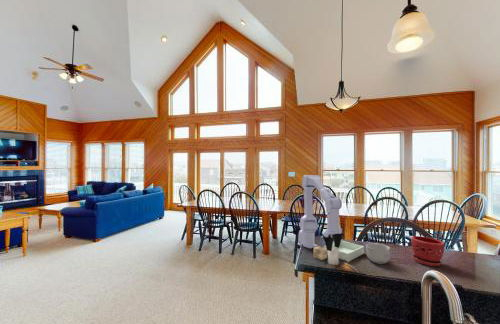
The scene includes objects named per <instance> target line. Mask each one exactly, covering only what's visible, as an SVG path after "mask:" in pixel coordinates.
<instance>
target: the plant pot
mask: <svg viewBox="0 0 500 324" xmlns="http://www.w3.org/2000/svg"><path fill="white" fill-rule="evenodd" d="M410 241H411V249H412V252H413V255H412V259H413V260H414V261H416V262H417V263H419V264H422V265H425V266H430V267H437V266H438V267H439V266H440V265H442V261H441V259H442V258H443V256H444V252H445V243H444V242H443V241H441V240H439V239H436V238H431V237H426V236H422V235H421V236H420V235H413V236H411V240H410Z"/></svg>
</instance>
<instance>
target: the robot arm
mask: <svg viewBox="0 0 500 324" xmlns="http://www.w3.org/2000/svg"><path fill="white" fill-rule="evenodd" d="M301 187H302V188H303V201H304V202H303V204H304V215H303V216H301V217H300V219H299V220H300V221H299V228H300V230H299V231H298V242H297V245H299V246H302V244H303V246H302V247H305V248H307V249H312V248H315V247H317V246H318V244H315V240H316V239H315V234H316V231H318V227H319V226H318V225H319V223H318V221H317V220H318V219H317V218H316V216H314V205H313V204H314V203H313V191H314V189H317V190H318V192H319V196H320V197H321V199H322V200H323V202H324V207H325V211H326V214H327V215H326V216H327V217H326V219H327V221H326V222H327V223H326V225H327V228H326V230H325V231H323V234H322V236H321V237H322V239H323V240H324V244H325V246H326V248H327V250H329V251H332V244H333V243H334V245H335V247H337V248H339V247H340V243H341V240H342V239H343V237H344V234H345V233H343V228H340V210H341V208H342V207H343V203H342V200H341V198H340V197H337V196H335V195H334V194H333V193H332V191H331V190H330V188H326V187H325V186H324V184H323V182H322V177H321V176H320V175H318V174H317V175H316V174H313V175H312V174H311V175H309V174H304V175H303V176H302V178H301ZM342 241H343V240H342Z"/></svg>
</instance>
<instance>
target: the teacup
mask: <svg viewBox="0 0 500 324" xmlns="http://www.w3.org/2000/svg"><path fill="white" fill-rule="evenodd" d="M365 248H366V256H367V258H368V259H369V260H370V261H371V262H372V263H374V264H378V265H379V264H380V265H384V264H387V263H388V262H389V261H390V259H391V250H390V249H391V247H390V246H388V245H386V244H383V243H382V244H381V243H378V242H374V243H367V244H365Z"/></svg>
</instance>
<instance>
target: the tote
mask: <svg viewBox="0 0 500 324" xmlns="http://www.w3.org/2000/svg"><path fill="white" fill-rule="evenodd" d="M322 247H323V248H326V245H323V246H322ZM332 247H334V248H337V247H335V245H334V242H333V244H332ZM337 249H338V260H342V261H345V262H347V263H349V262H351V261H352V260H354V259H356V258H358V257H360V256H362V255H364V254H365V245H360V244H356V243H353V242H348V241H346V240H341V243H340V247H339V248H337ZM327 256H328V250H327Z"/></svg>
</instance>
